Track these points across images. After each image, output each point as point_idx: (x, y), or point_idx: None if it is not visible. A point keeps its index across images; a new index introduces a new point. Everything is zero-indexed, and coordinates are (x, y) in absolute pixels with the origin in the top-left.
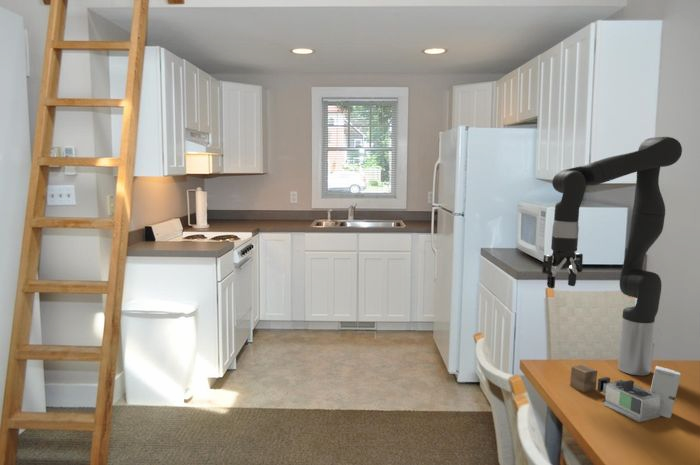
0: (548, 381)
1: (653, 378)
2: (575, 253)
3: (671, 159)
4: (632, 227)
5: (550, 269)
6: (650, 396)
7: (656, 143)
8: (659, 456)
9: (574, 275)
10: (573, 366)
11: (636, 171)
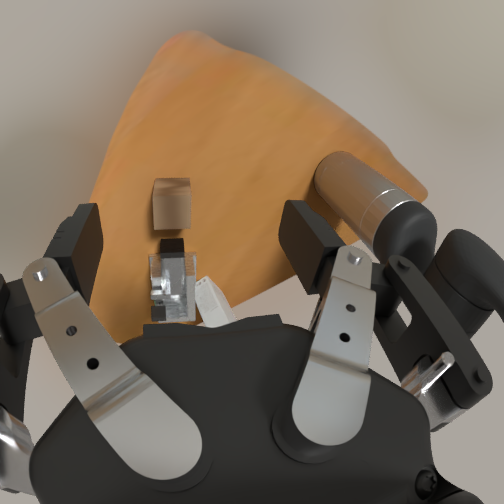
0: (129, 147)
1: (204, 323)
2: (467, 402)
3: None
4: None
5: (20, 366)
6: (179, 319)
7: None
8: (117, 339)
9: (309, 291)
10: (158, 196)
11: None
